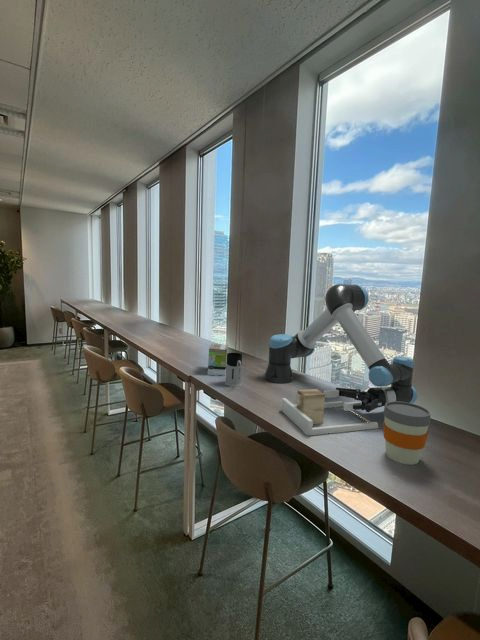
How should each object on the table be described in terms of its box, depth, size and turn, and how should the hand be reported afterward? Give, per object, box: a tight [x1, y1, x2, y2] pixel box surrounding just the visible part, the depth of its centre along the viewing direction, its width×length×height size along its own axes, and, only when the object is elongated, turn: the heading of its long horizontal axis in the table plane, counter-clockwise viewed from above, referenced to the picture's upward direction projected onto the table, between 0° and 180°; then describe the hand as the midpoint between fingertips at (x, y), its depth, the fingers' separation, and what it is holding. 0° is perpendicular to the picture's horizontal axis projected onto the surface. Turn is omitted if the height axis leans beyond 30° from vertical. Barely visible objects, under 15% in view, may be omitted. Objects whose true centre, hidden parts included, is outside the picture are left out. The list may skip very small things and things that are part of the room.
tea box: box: [207, 343, 229, 377], centre depth 180 cm, size 15×10×15 cm
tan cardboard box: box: [296, 388, 326, 425], centre depth 121 cm, size 6×8×11 cm
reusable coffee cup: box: [382, 401, 431, 466], centre depth 97 cm, size 13×13×15 cm
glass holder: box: [224, 352, 243, 388], centre depth 157 cm, size 9×14×15 cm, turn 18°
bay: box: [280, 397, 381, 437], centre depth 123 cm, size 22×29×5 cm
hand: (333, 400), depth 123 cm, fingers open, 13 cm apart
